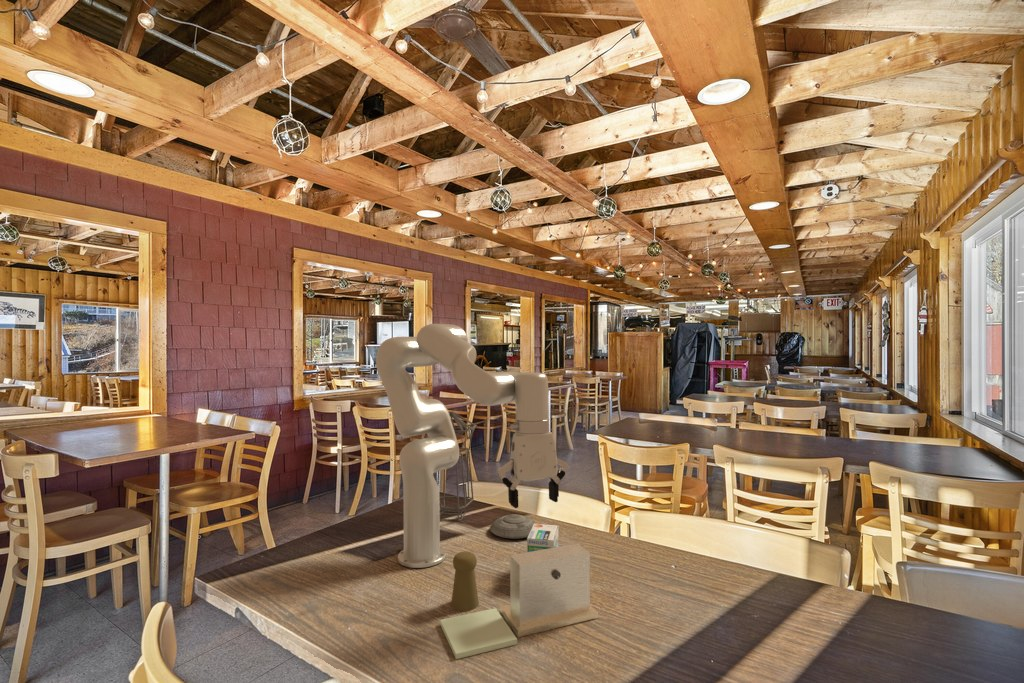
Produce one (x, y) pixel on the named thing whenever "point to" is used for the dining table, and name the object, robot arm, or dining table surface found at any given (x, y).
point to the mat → (477, 633)
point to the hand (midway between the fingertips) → (534, 503)
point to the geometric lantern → (462, 424)
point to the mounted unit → (549, 589)
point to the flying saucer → (512, 526)
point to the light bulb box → (543, 537)
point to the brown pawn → (464, 582)
